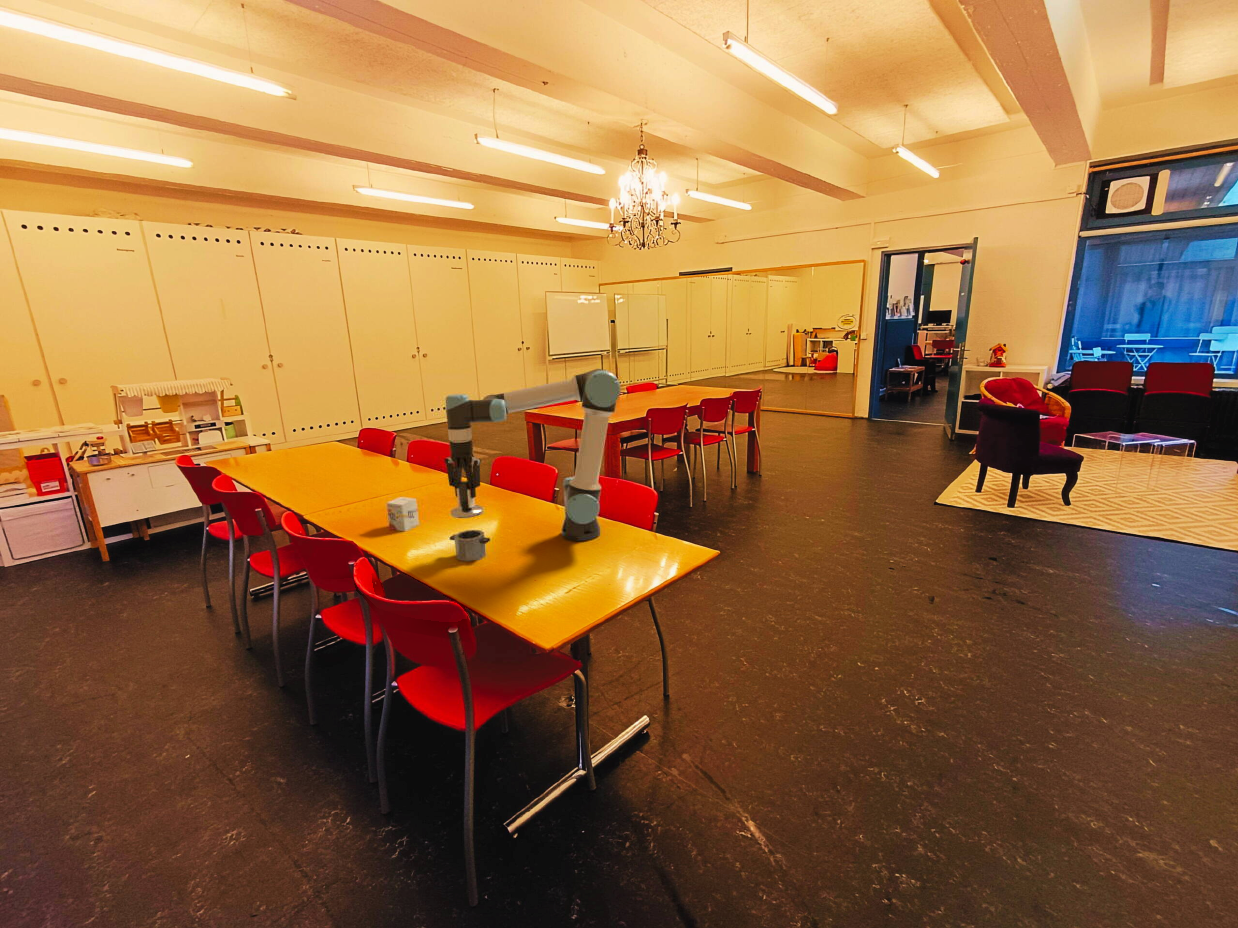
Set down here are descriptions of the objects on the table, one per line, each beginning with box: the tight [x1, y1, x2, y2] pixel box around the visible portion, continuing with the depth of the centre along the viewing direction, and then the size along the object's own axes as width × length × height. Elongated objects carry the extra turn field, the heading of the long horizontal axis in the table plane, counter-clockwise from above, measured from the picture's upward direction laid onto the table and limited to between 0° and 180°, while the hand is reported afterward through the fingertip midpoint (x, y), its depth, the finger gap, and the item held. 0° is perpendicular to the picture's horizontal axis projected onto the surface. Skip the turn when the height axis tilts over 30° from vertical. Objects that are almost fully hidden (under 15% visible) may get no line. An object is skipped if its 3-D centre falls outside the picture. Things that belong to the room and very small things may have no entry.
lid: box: [450, 480, 484, 519], centre depth 187 cm, size 11×11×11 cm
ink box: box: [385, 496, 420, 532], centre depth 222 cm, size 9×9×12 cm
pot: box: [449, 529, 491, 563], centre depth 191 cm, size 15×10×8 cm
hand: (466, 505), depth 188 cm, fingers closed on lid, 4 cm apart
